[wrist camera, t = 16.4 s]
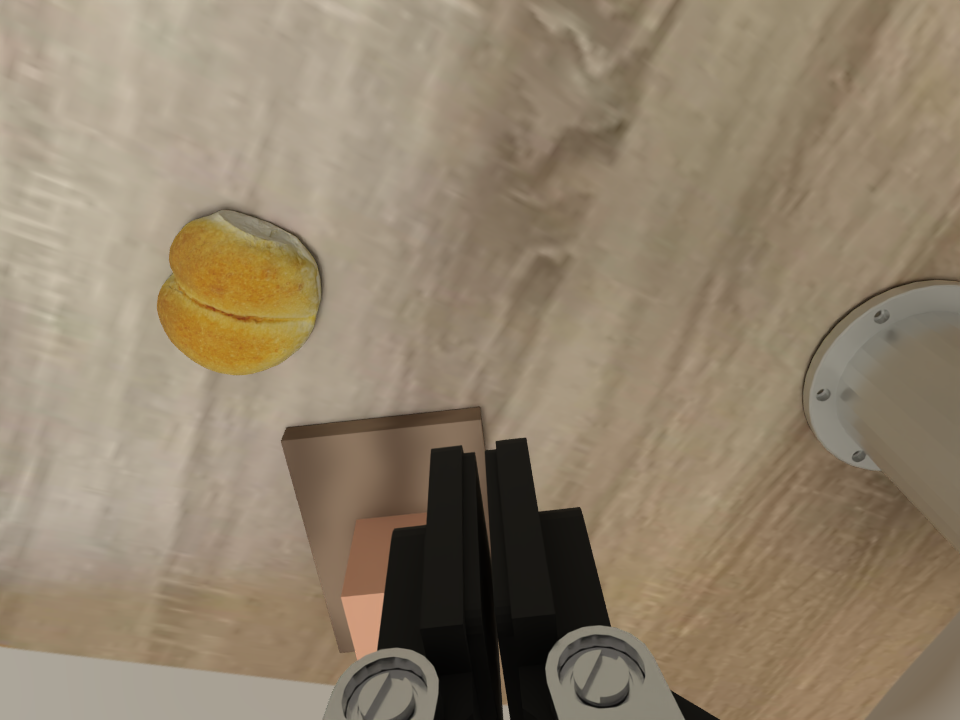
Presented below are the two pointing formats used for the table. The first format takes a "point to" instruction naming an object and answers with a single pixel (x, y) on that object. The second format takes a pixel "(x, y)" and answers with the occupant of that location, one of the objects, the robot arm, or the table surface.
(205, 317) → the bread roll
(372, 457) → the flat brown rectangular board
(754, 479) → the table surface
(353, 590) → the salmon orange block
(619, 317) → the table surface
